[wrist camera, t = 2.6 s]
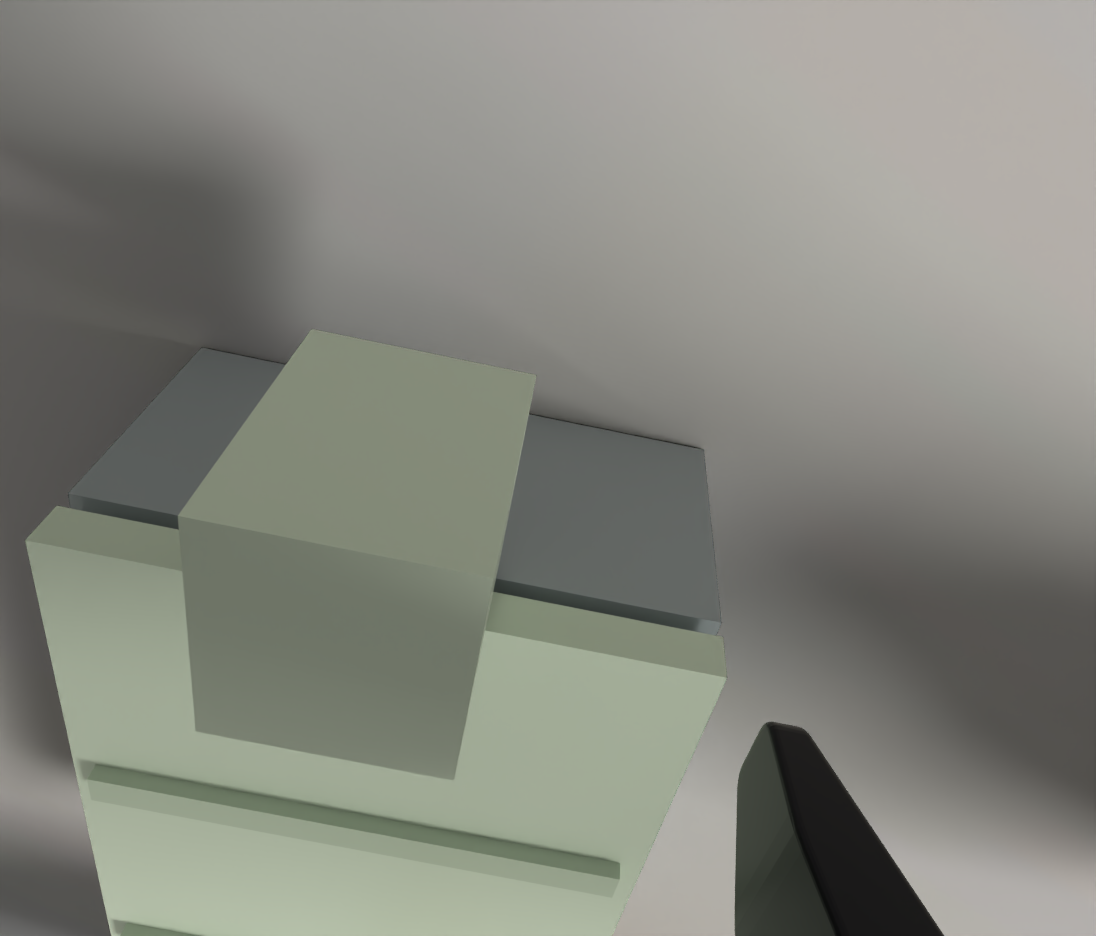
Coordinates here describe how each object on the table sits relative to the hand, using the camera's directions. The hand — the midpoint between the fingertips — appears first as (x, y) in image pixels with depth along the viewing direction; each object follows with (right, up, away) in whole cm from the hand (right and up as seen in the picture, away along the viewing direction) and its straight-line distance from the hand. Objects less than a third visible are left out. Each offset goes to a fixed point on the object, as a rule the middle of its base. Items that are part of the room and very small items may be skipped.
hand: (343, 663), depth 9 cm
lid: (-1, -4, +8) cm, 9 cm away
